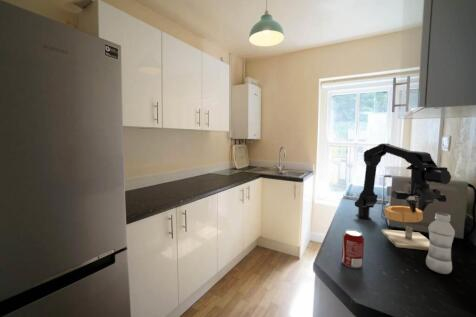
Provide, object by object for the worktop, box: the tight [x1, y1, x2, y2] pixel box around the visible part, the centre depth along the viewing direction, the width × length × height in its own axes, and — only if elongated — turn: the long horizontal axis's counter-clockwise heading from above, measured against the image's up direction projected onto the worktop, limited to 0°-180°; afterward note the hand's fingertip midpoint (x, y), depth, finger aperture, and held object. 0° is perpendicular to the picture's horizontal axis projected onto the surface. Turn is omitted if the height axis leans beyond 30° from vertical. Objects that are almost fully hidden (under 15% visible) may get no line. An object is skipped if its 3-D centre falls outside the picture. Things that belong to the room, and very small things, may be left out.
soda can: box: [341, 228, 365, 269], centre depth 78 cm, size 7×7×12 cm
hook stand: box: [380, 225, 430, 251], centre depth 98 cm, size 16×16×6 cm
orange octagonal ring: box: [384, 205, 424, 223], centre depth 99 cm, size 13×13×4 cm
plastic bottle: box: [425, 212, 456, 275], centre depth 74 cm, size 6×7×20 cm
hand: (417, 214), depth 98 cm, fingers closed on orange octagonal ring, 2 cm apart
